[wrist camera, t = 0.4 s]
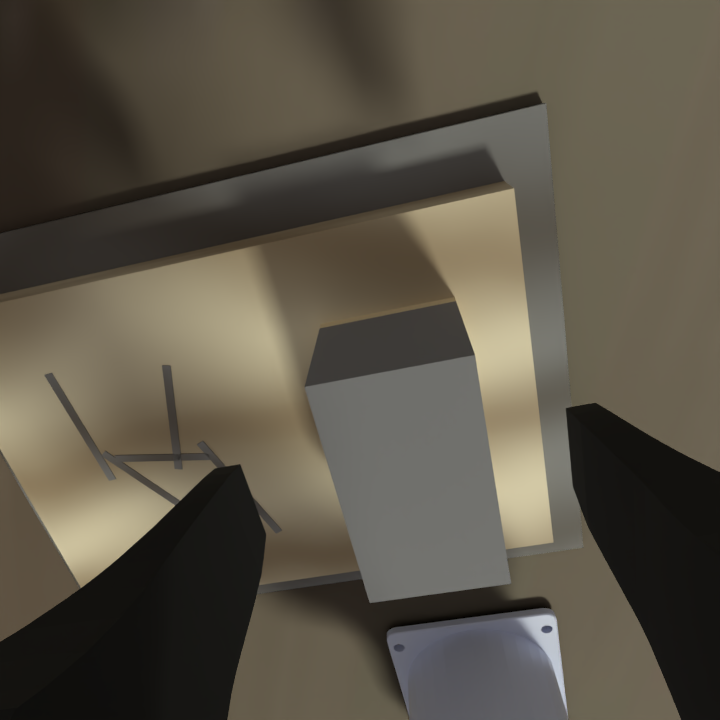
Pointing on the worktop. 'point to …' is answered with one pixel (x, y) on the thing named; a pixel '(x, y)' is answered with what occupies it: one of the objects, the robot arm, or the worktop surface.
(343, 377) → the block
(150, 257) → the pine board
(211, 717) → the robot arm
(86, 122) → the worktop surface
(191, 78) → the worktop surface
